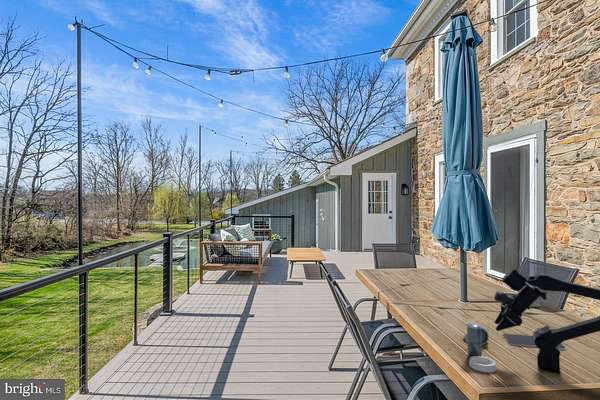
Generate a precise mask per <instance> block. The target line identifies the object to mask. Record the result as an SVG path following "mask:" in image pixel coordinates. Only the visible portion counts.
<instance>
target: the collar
mask: <svg viewBox="0 0 600 400" xmlns="http://www.w3.org/2000/svg"><path fill="white" fill-rule="evenodd" d="M468 363H469V367H470V368H471V369H473V370H475V371H477V372H482V373H489V374H490V373H495V372H497V361H496V360H494V359H492V358H490V357H487V356H483V355H482V356H471V357H470V358H468Z"/></svg>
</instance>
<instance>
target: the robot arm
mask: <svg viewBox="0 0 600 400" xmlns="http://www.w3.org/2000/svg"><path fill="white" fill-rule="evenodd" d="M500 281H501V282H502V283H504V284H505V285H506V286H507V287H509V289H511V290H513V291H518V292H519V291H520V290H521V289H522V288H523V287H524V288H523V289H522V290H521V291H520V292H519V293H518V292H517V293H516V294H517V295H516V294H513V295H509V294H507V293H506V292H505V293H504V292H502V291H499V290H496V292H495V295H494V299H493V300H494V301H496V302H500V311H499V313H498V315H497V316H496V319H495V321H494V323H495V325H497V326H496V327H495V331H497V332H500V331H503V330H507V329H511V328H514V327H520V326H521V325H522V324H523V317H522V316H523V313H525V311H526V310H528V311H529V310H530V309H531V307H530V306H531V305H532V304H533V303H534V302H535V301H536V300H537V299H538V298H542V299H543V300H544V301H546V300H548V299H547V292H546V291H548V292H564V293H568V294H572V295H577V296H579V297H580V296H581V297H585V298H588V299H593V300H597V301H600V288H597V287H593V286H588V285H584V284H579V283H576V282H570V281H568V280H563V279H561V278H558V277H555V276H553V275H550V274H547V273H545V272H538V273H536V274H535V275H531V276H524V275H522V274H521V273H519V272H518V270H517V269H515V268H513V269H512V270H510V271H508V272H507V273H506V274H505V275H504V276H503V277H502V278H501V280H500ZM527 283H528V284H530V285H531V286H536V287H531V286H529V285H528V284H527ZM541 290H542V291H541ZM599 332H600V315H598V316H596V317H592V318H590V319H586V320H582V321H580V322H576V323H573V324H569V325H567V326H566V325H564V326H562V327H559V328H551V327H550V326H549V325H545V326H543V327H541V328H538V327H537V328H536V330H535V331H534V332H533V333H532V335H531V336H532V337H533V340H534V342H535V345H536V346H537V347H536V348H537V349H538V352H537V355H536V356H537V357H536V360H537V364H536V365H537V367H538V370H539V371H543V372H549V373H552V374H558V375H560V374H561V367H560V366H561V365H560V363H561V362H560V356H561V351H560V350H559V349H558V347H557V346H558V345H559V344H562V343H564V342H566V341H570V340H574V339H578V338H579V337H584V336H587V335H591V334H594V333H599Z"/></svg>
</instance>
